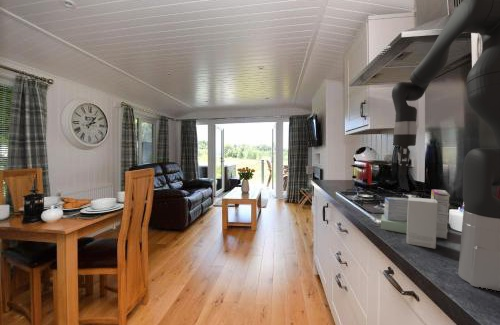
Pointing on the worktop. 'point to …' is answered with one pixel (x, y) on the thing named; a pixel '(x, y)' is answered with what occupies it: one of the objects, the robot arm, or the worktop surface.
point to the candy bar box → (442, 212)
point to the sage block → (393, 225)
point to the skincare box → (422, 222)
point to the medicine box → (396, 209)
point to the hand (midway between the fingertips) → (402, 174)
